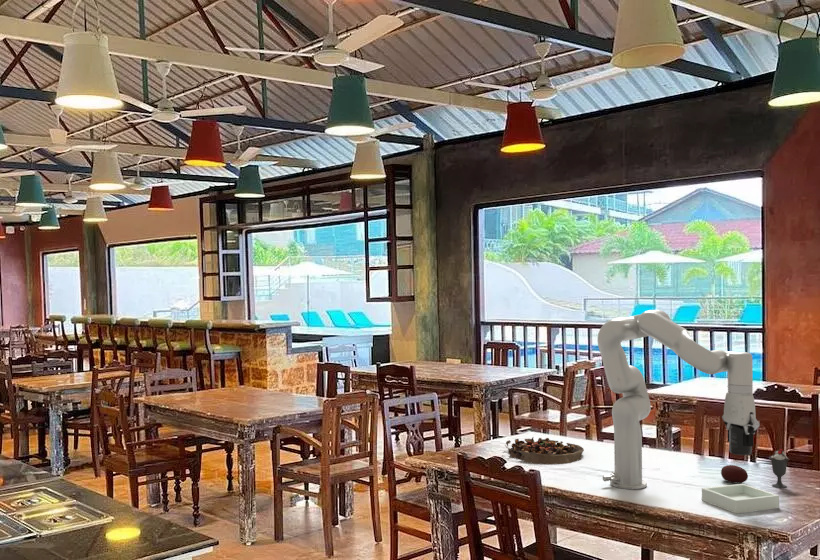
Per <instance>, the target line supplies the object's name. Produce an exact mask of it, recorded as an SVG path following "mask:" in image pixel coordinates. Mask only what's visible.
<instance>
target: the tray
mask: <svg viewBox="0 0 820 560" xmlns="http://www.w3.org/2000/svg"><path fill="white" fill-rule="evenodd" d="M701 500H702V501H703V502H705V503H708V504H710V505H712V506H713V505H714V506H716V507H718V508H721V509H723V510H726V511H729V512H732V513H734V514H742V513H743V514H744V513H750V512H751V513H752V512H757V511H766V510H774V509H780V495H778V494H775V493H772V492H770V491H767V490H763V489H759V488H758V487H755V486H751V485H748V484H746V483H734V484H728V485H719V486H710V487H709V486H708V487H702V488H701Z"/></svg>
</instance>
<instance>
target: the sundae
mask: <svg viewBox="0 0 820 560" xmlns="http://www.w3.org/2000/svg"><path fill="white" fill-rule="evenodd" d="M782 446H783V445H780V447H778V448H779V449H777V450H775V451H774V454H772V455H770V456H769V457H768V459H769V460H770V462H771V468H772V469H771V470H772V472H773V474H774V475H775V476H776V477H777V481H776V483H774V484H771V486H772V488H776V489H787V488H788V486H787V485H785V484H783V482H782V478H783V476H784V475H786V473H787V472H786V471H787V466H788V461H790V458H789V457H788V456H787V455H786V453H785V452H784V450H783V448H781V447H782Z"/></svg>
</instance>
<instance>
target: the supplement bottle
mask: <svg viewBox="0 0 820 560" xmlns="http://www.w3.org/2000/svg"><path fill="white" fill-rule="evenodd" d="M749 429H750V428H749V427H748V430H749ZM744 434H746V433H745V430H744V427H743V426H739V425H735V424H732V425H730V428H729V442H728V443H729V453H731V454H733V455H738V456H750V455H752V453H753V451H752V449H753V446H751V447H745V446H744Z"/></svg>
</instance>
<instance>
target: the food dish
mask: <svg viewBox="0 0 820 560" xmlns="http://www.w3.org/2000/svg"><path fill="white" fill-rule="evenodd" d="M511 442H512V440H509V439H508V440H506V441H505V444H504V446H505V448H506V449H507V450H508V454H509V457H511V458H513V459H517V460H521V461H523V462H524V463H530V464H534V465H537V464H538V465H539V464H540V465H541V464H542V465H565V464H570V463H573V462H578V461H580V460H582V457H583V456H582V454H583V453H584V451H585V449H584V447H582V446H581V445H579V444H575V443H570V442H566V443H565V444H566V445H565V444H563V443H564V442H563V441H560V442H559V440H554V439H553V440H551V439H550V438H549V437H546V438H544V439H542V437H539V438H538V440H537V441H535V440H534V437H532V438H524V440H520V439H519V438H515V439H514V442H513V443H512V444H511V447H509V444H510V443H511Z"/></svg>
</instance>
